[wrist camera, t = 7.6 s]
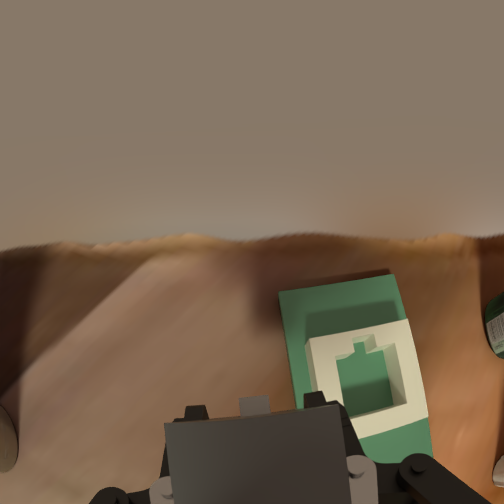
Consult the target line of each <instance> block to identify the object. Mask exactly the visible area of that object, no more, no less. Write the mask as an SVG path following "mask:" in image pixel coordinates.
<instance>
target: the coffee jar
mask: <svg viewBox="0 0 504 504" xmlns="http://www.w3.org/2000/svg"><path fill="white" fill-rule="evenodd" d="M485 327H486V333H487V337H488V341H489V343H490V345H491V348H492V350H493V352H494V353H495V354H496V355H497V356H498V357H500V358H502V359H504V292H503V293H501V294H500V295H498V296H497V297H495V298H494V299H492V300H491V301H490V302H489V304H488V305H487V308H486V311H485Z"/></svg>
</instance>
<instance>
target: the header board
mask: <svg viewBox="0 0 504 504" xmlns="http://www.w3.org/2000/svg"><path fill="white" fill-rule="evenodd" d="M278 300H279V306H280V312H281V318H282V324H283V330H284V336H285V343H286V349H287V355H288V361H289V368H290V374H291V380H292V387H293V393H294V400H295V406H296V409H301V408H304V402H303V395H304V393H310V392H315V391H321V390H322V392H323V394H324V396H325V399H326V402H328V401H333V400H337V401H338V402H339V403H340V404H342V405H343V406H344V407H345V409H346V411H347V413H348V416H349V418H350V420H351V423H352V426H353V427H354V430H355V432H356V434H357V437H358V439H359V442H360V444H361V446H362V449H363V451H364V453H365V455H366V456H367V457H368V458H370V459H371V460H373V461H375V462H378V463H401V462H402V460H403V459H404V458H405V457H407V456H409V455H411V454H414V453H424V454H427V455H429V456H431V457H432V458H433V452H432V444H431V436H430V429H429V422H428V417H429V416H428V410H427V404H426V399H425V393H424V388H423V383H422V378H421V373H420V368H419V364H418V359H417V355H416V350H415V346H414V342H413V338H412V334H411V330H410V326H409V322H408V319H407V318H406V315H405V311H404V307H403V304H402V300H401V297H400V293H399V290H398V287H397V283H396V280H395V277H394V274H390V275H384V276H378V277H372V278H366V279H360V280H354V281H347V282H341V283H335V284H328V285H321V286H315V287H308V288H301V289H294V290H287V291H279V292H278Z"/></svg>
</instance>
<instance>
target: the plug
mask: <svg viewBox="0 0 504 504" xmlns="http://www.w3.org/2000/svg"><path fill="white" fill-rule="evenodd" d="M239 405H240V413H241V416H236V417H224V418H214V419H207V420H196V421H185V422H172V423H164V428H165V438H166V447H167V456H168V464H169V472H170V479H171V486H172V493H173V499H174V504H352V501H351V492H350V483H349V475H348V467H347V459H346V451H345V444H344V437H343V430H342V423H341V417H340V410H339V404H335V405H328V406H320V407H311V408H301V409H293V410H286V411H279V412H272V413H271V412H270V405H269V397H268V395H262V396H254V397H244V398H239Z"/></svg>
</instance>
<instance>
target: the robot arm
mask: <svg viewBox="0 0 504 504" xmlns="http://www.w3.org/2000/svg"><path fill="white" fill-rule="evenodd" d="M303 402H304V408H311V407H320V406H328V405H335V404H339V410H340V417H341V423H342V430H343V437H344V444H345V451H346V459H347V467H348V475H349V483H350V492H351V501H352V504H491V503H490V502H489V501H487V500H486V499H485V498H483V497H482V496H481V495H479V494H478V493H477V492H476V491H474V490H473V489H472V488H470V487H469V486H468V485H466V484H465V483H464V482H463V481H461V480H460V479H459V478H457V477H456V476H455V475H454V474H452V473H451V472H450V471H448V470H447V469H446V468H445V467H443V466H442V465H441V464H440V463H438V462H437V461H436V460H435V459H433V458H432V457H431V456H429V455H427V454H424V453H414V454H411V455H409V456H407V457H405V458H404V459H403V460H402V462H401V463H378V462H375V461H373V460H371V459H370V458H368V457H367V456H366V455H365V453H364V451H363V449H362V446H361V444H360V442H359V439H358V437H357V434H356V432H355V430H354V427H353V426H352V423H351V420H350V418H349V416H348V413H347V411H346V409H345V407H344V406H343V405H342V404H340V403H339V402H338V401H337V400H333V401H328V402H326V399H325V396H324V394H323V392H322V390H321V391H315V392H310V393H304V395H303ZM207 419H209V417H208V413H207V410H206V407H205V405H195V406H186V409H185V416H184V418H176V419H174V421H173V422H185V421H196V420H207ZM17 452H18V446H17V437H16V433H15V429H14V426H13V424H12V421H11V419H10V417H9V416H8V414H7V412H6V411H5V410H4V409H3V407H1V406H0V473H3V472H7V471H9V470H10V469H12V467H13V466H14V464H15V462H16V459H17ZM89 504H174V499H173V493H172V486H171V479H170V472H169V464H168V456H167V447H166V444H165V449H164V455H163V461H162V467H161V473H160V477H159V479H158V480H156V481H155V482H154V483H153V484H152V485H151V487H150V488H149V489H146V490H143V491H139V492H133V493H128V494H126V493H125V492H124V491H123V490H121V489H119V488H116V487H107V488H104V489H102V490H100V491H99V492H98V493H97V494H96V495H95V496H94V498H93V499H92V500H91V502H90V503H89Z"/></svg>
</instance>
